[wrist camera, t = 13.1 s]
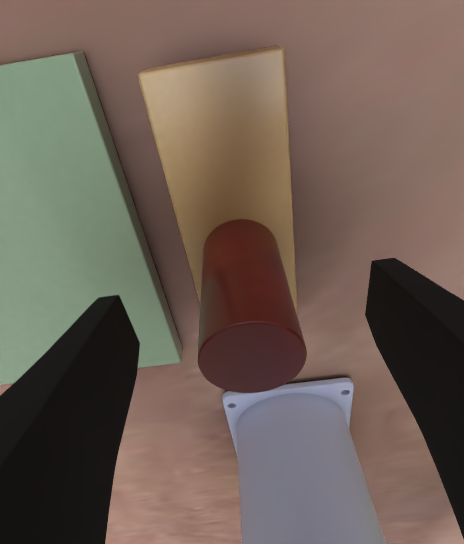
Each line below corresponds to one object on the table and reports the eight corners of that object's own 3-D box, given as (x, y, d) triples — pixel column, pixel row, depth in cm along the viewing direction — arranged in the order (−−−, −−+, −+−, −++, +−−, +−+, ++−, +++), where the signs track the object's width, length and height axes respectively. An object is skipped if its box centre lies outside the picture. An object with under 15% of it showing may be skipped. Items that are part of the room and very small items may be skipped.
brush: (270, 40, 11) (343, 68, 5) (289, 310, 18) (328, 465, 12) (152, 62, 11) (73, 115, 5) (215, 320, 18) (216, 478, 12)
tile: (182, 348, 19) (181, 363, 18) (-8, 372, 20) (-18, 387, 19) (83, 50, 11) (72, 53, 10) (-242, 105, 11) (-277, 112, 11)
